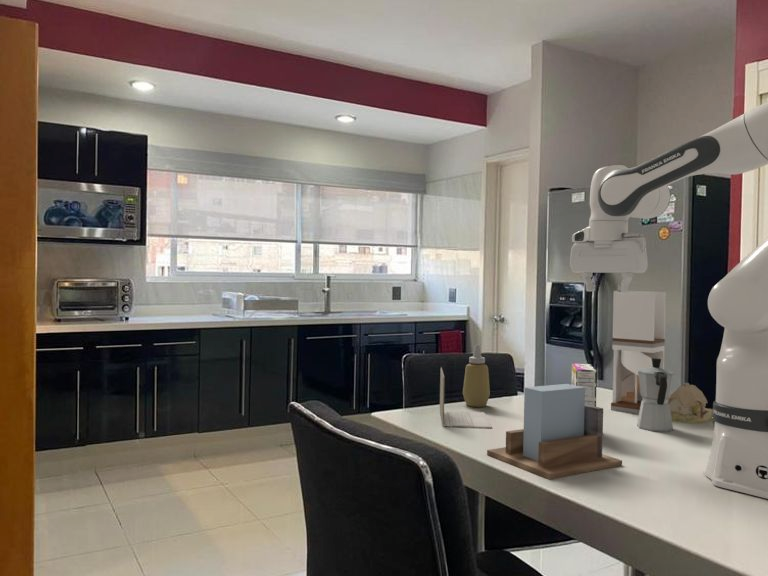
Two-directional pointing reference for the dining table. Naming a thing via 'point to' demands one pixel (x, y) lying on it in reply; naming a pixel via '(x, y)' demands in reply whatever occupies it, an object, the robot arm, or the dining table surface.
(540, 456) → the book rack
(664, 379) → the coffee maker
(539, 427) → the book
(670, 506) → the dining table surface
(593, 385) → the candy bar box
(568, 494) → the dining table surface
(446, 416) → the laptop
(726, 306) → the robot arm
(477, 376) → the squeeze bottle
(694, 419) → the ceramic model
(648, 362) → the white coffee grinder
